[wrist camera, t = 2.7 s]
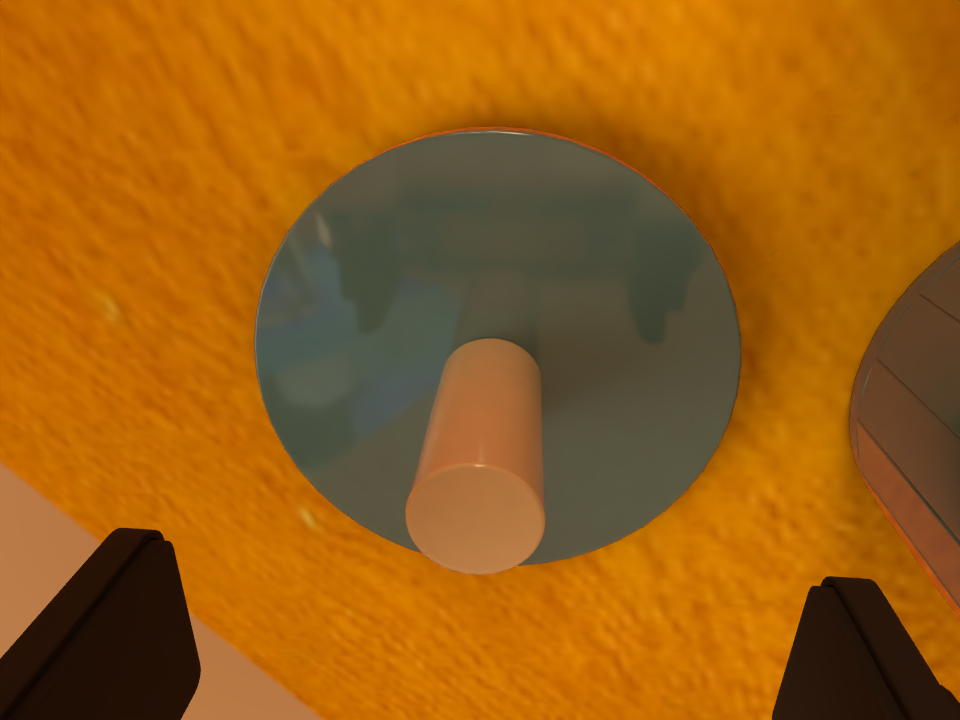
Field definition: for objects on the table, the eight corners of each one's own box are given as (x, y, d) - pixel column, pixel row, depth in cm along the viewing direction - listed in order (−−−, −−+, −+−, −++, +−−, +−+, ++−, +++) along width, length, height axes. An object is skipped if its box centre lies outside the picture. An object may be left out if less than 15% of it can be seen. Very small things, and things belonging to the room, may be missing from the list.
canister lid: (239, 115, 15) (61, 169, 9) (773, 128, 14) (929, 194, 8) (296, 525, 20) (203, 719, 14) (689, 548, 19) (753, 762, 14)
